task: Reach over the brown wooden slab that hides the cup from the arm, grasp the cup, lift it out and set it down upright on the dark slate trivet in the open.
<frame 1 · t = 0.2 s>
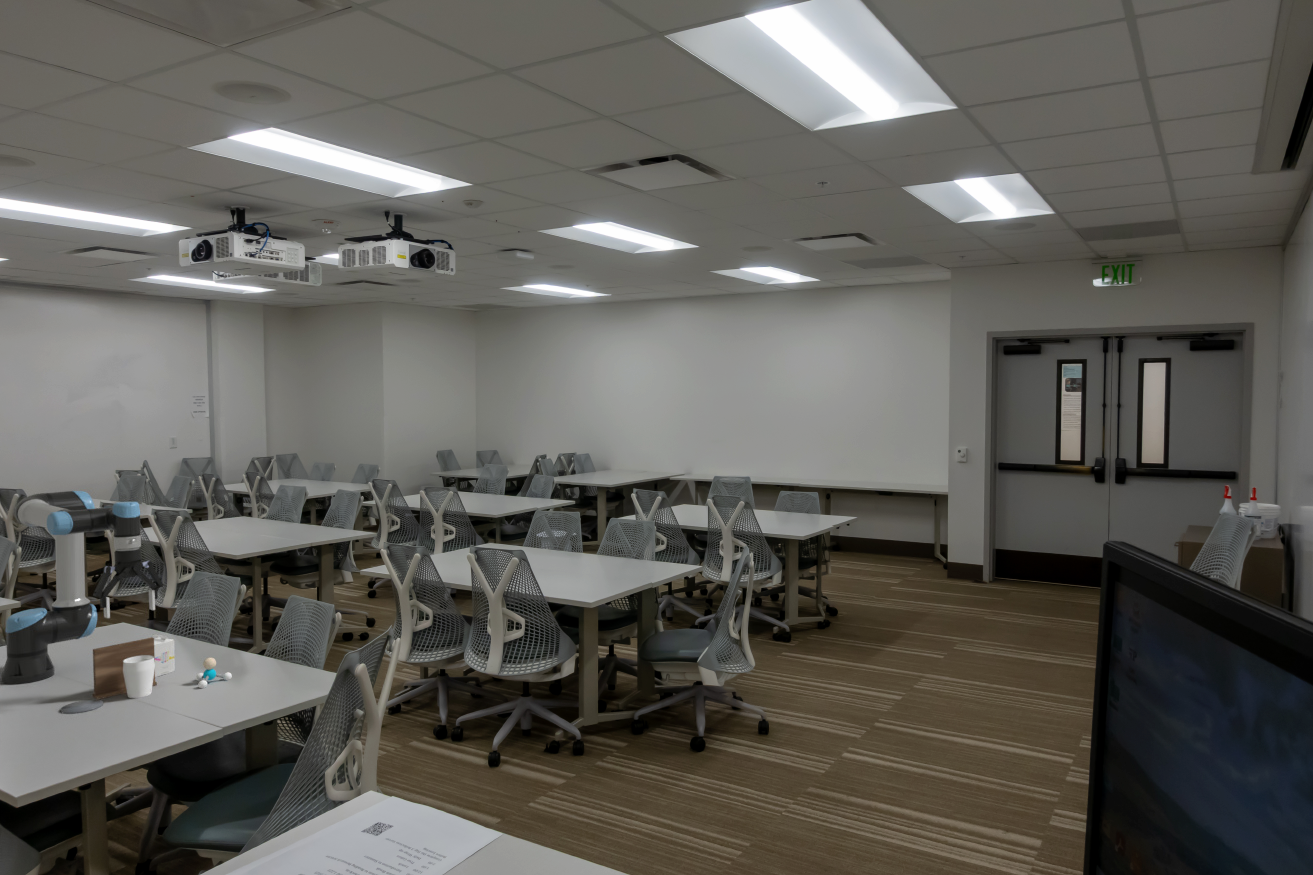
hand: (130, 613, 283), 27 cm above the table, fingers open, 13 cm apart
cup: (139, 695, 283), on the table
molecule model: (211, 682, 297), on the table
trivet: (82, 707, 272), on the table
ink box: (156, 673, 307), on the table
brown wooden slab: (125, 690, 288), on the table
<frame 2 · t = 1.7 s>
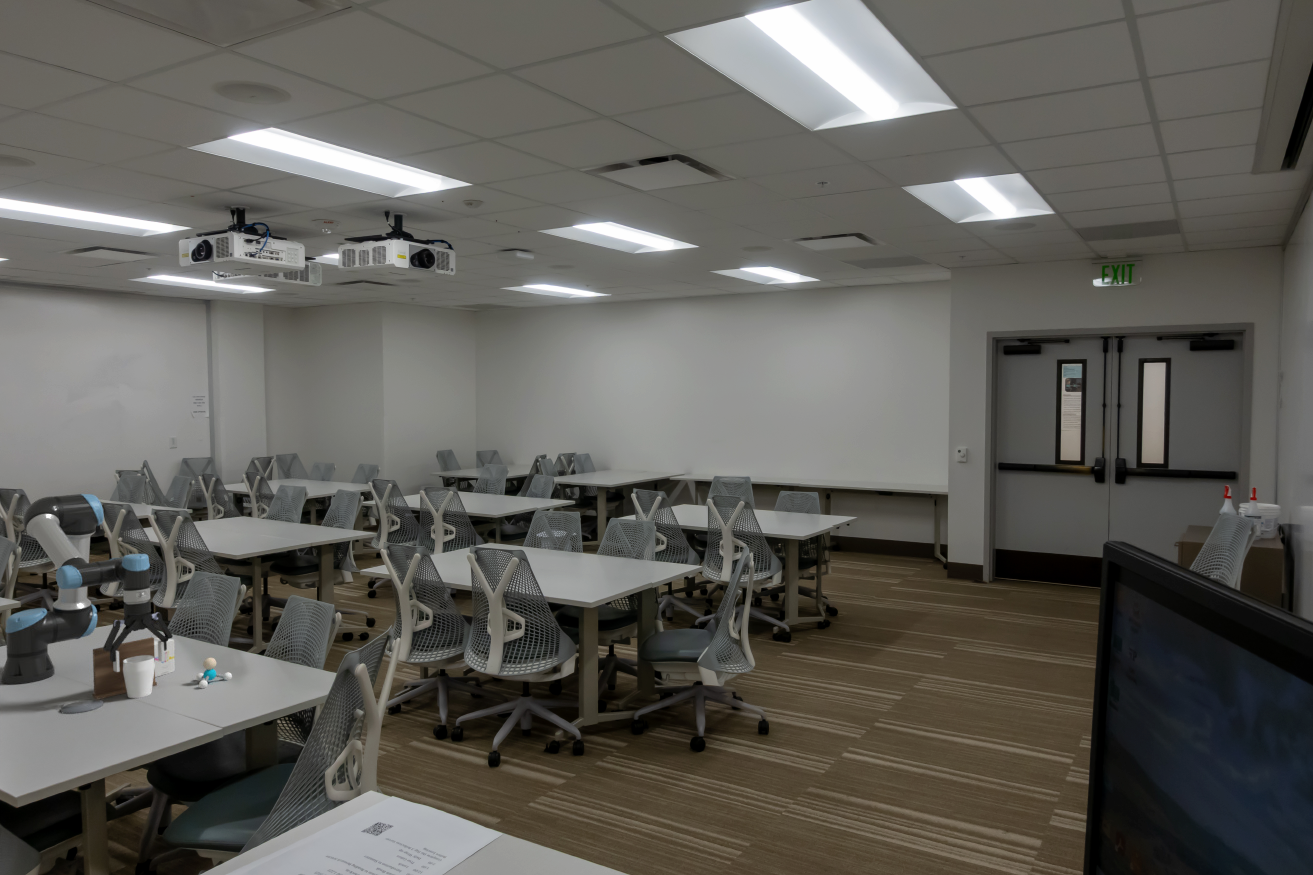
hand: (139, 666, 283), 10 cm above the table, fingers open, 13 cm apart
nothing on the table moved.
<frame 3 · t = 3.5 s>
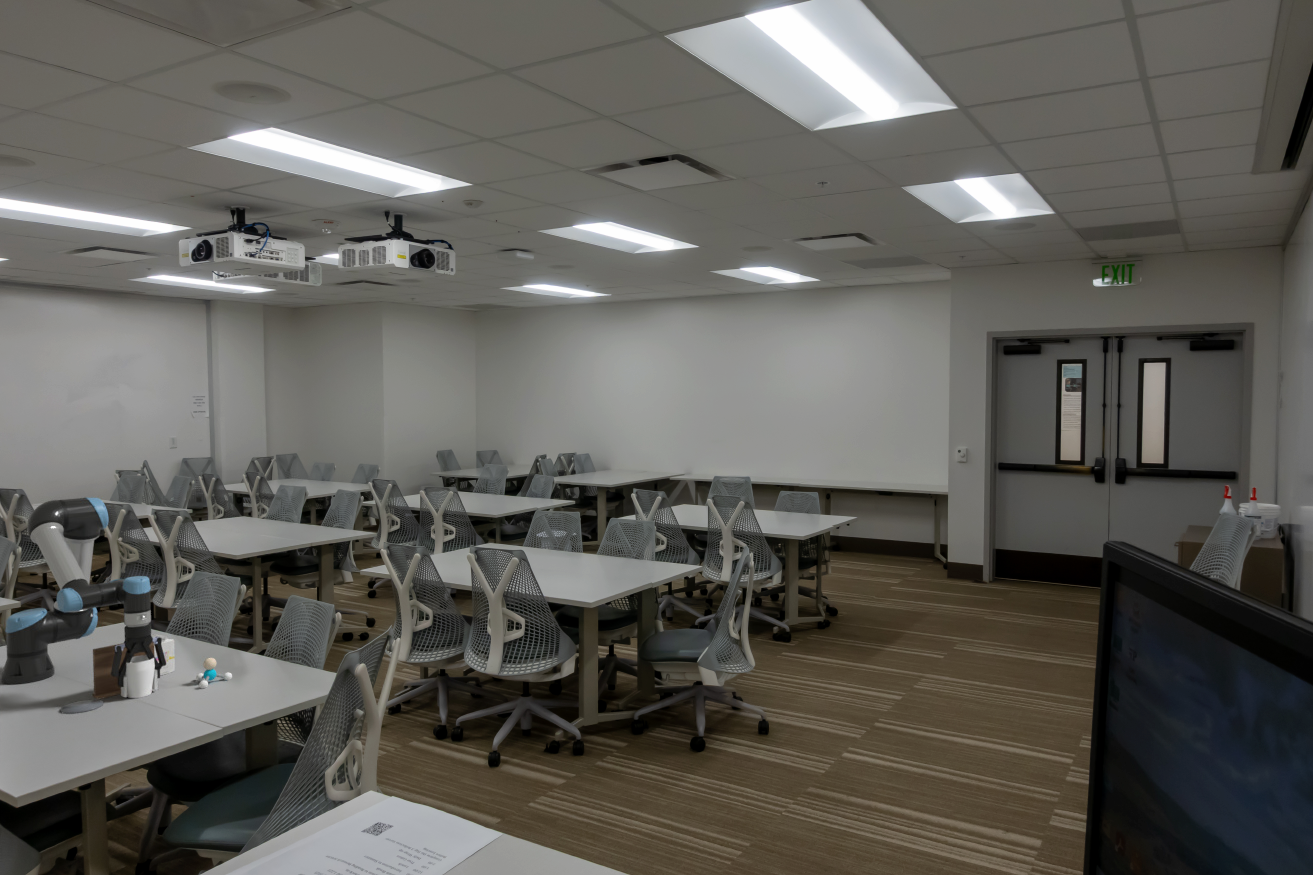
hand: (139, 692, 283), 1 cm above the table, fingers closed on cup, 9 cm apart
cup: (139, 695, 283), on the table, touching gripper
everything else where it was.
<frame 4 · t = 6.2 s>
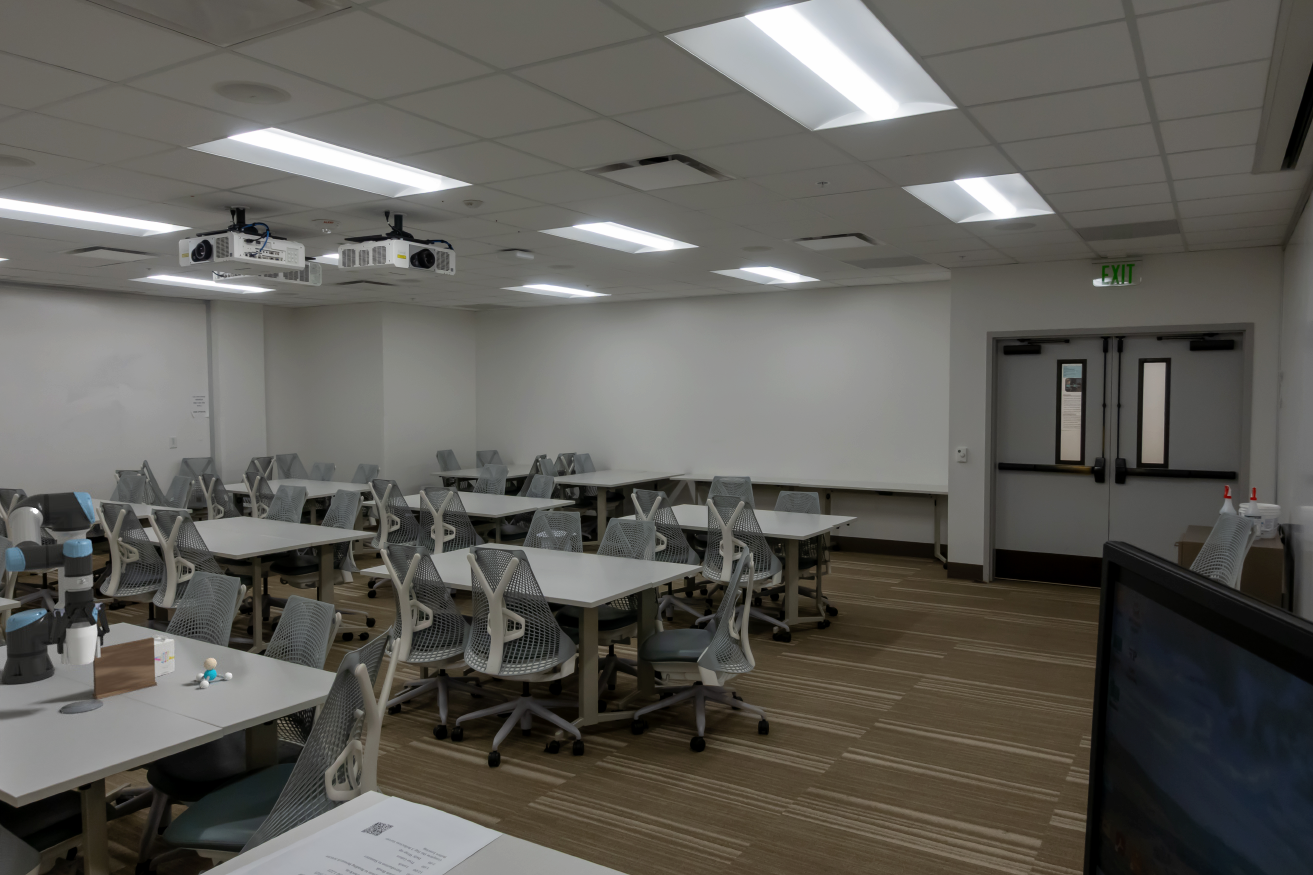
hand: (81, 659, 271), 15 cm above the table, fingers closed on cup, 9 cm apart
cup: (81, 663, 271), point 14 cm above the table, touching gripper
everything else where it was.
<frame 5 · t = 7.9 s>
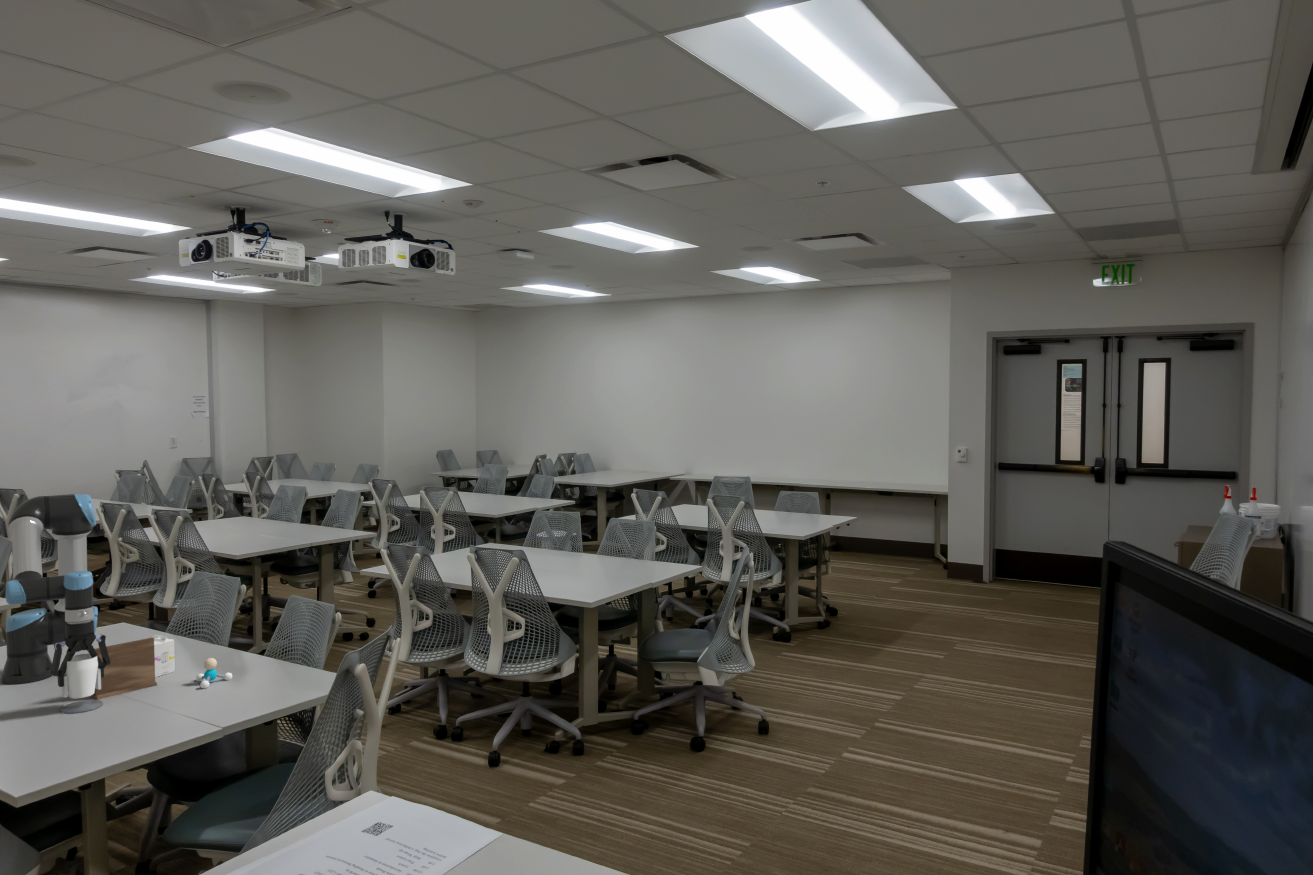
hand: (81, 692, 272), 5 cm above the table, fingers closed on cup, 9 cm apart
cup: (81, 695, 272), point 4 cm above the table, touching gripper
everything else where it was.
when the fingers open (3 cm above the table, at t = 9.2 s): cup drops 1 cm, resting on trivet.
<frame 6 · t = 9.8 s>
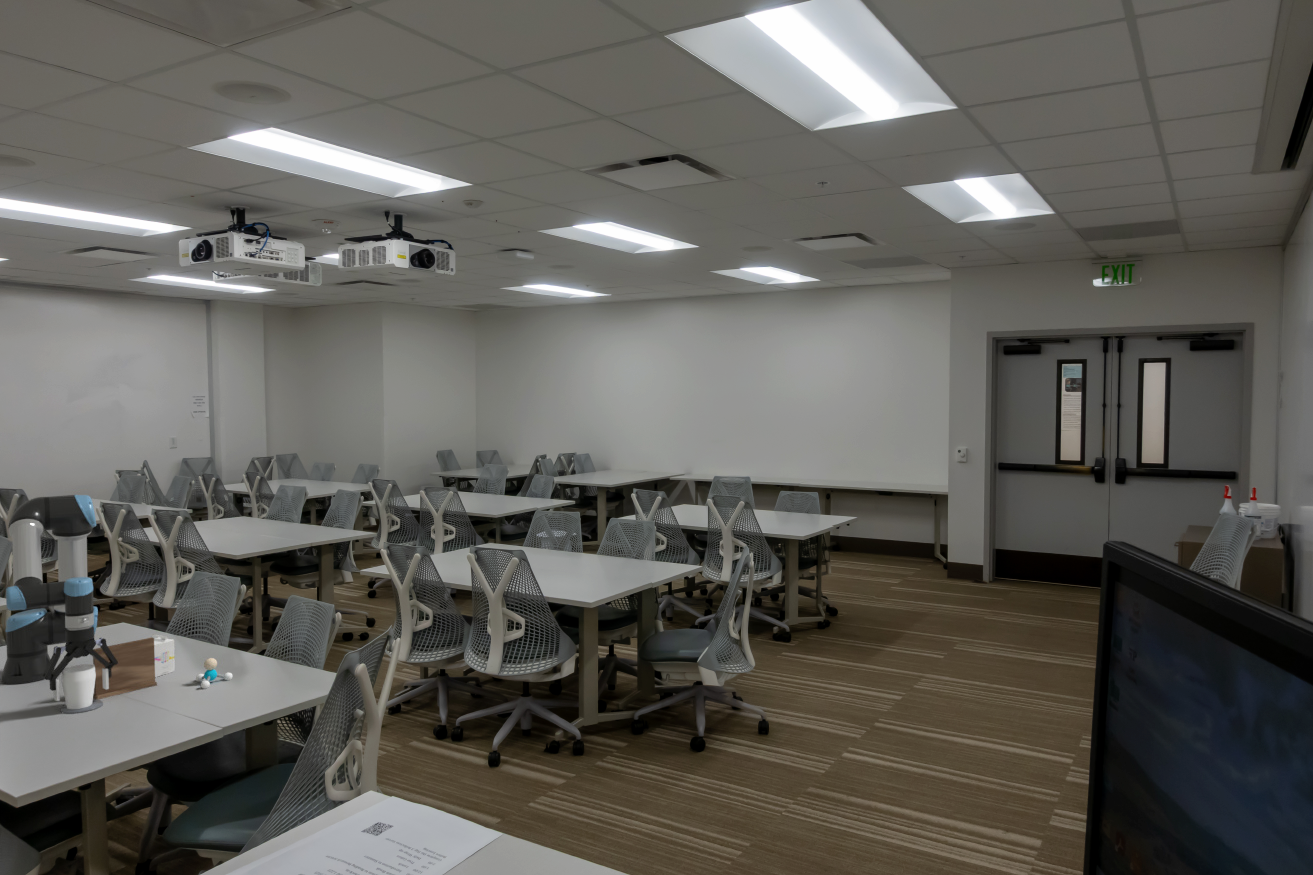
hand: (81, 694, 272), 4 cm above the table, fingers open, 13 cm apart
cup: (79, 706, 271), resting on trivet
everything else where it was.
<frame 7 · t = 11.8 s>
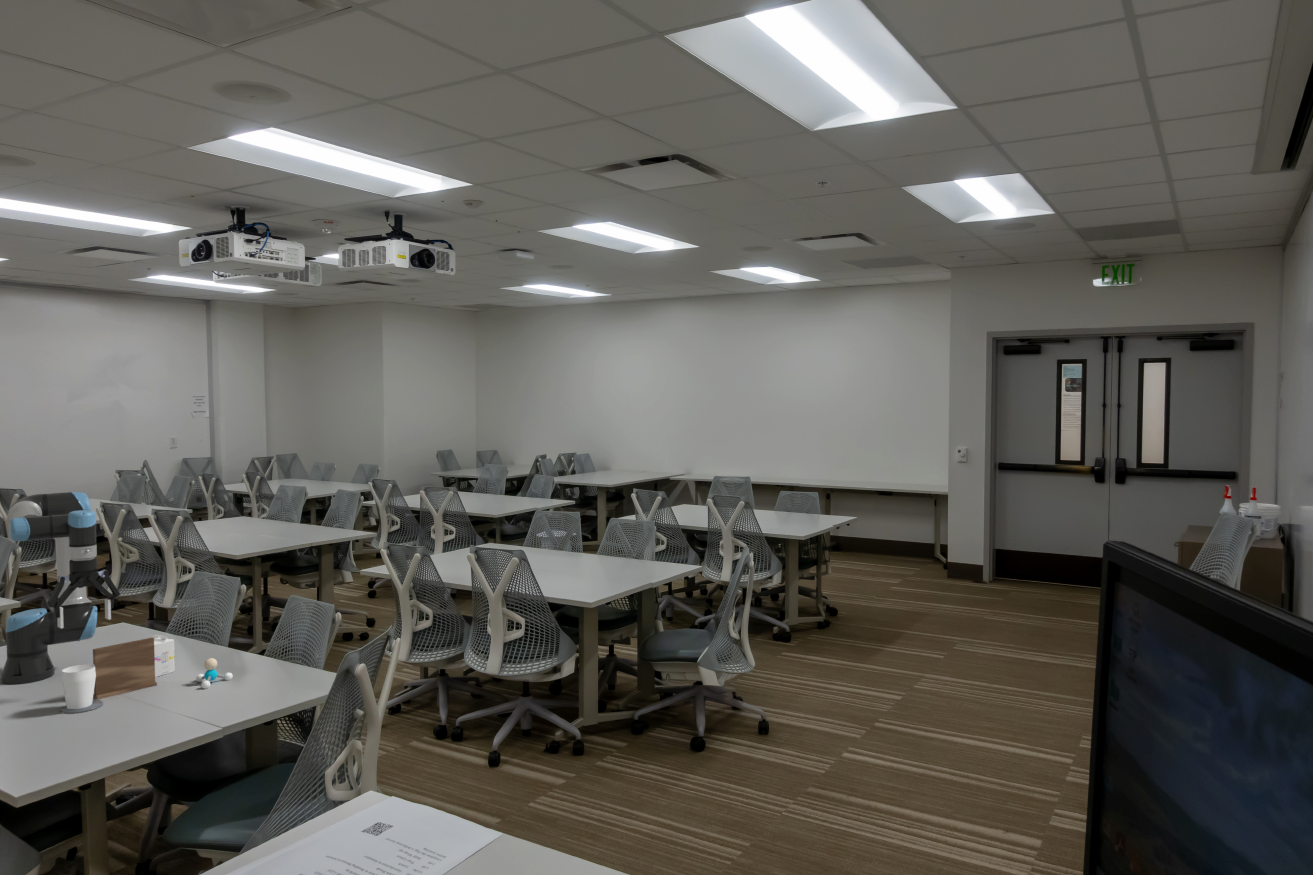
hand: (84, 623, 280), 25 cm above the table, fingers open, 13 cm apart
nothing on the table moved.
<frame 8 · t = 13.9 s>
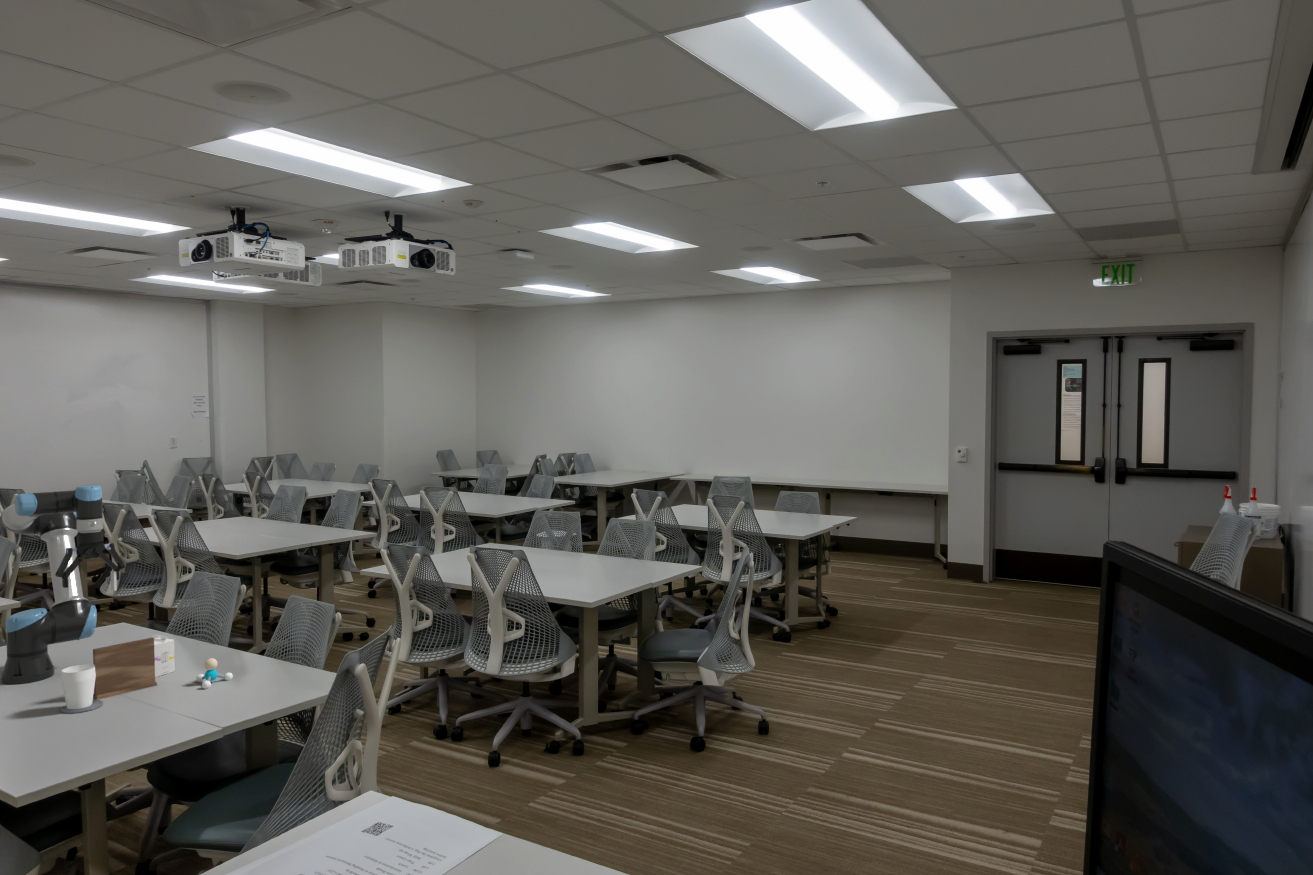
hand: (91, 593, 292), 32 cm above the table, fingers open, 13 cm apart
nothing on the table moved.
at the end: cup 0.7 cm from the trivet (horizontally); cup tilted 0°; the gripper is holding nothing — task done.
